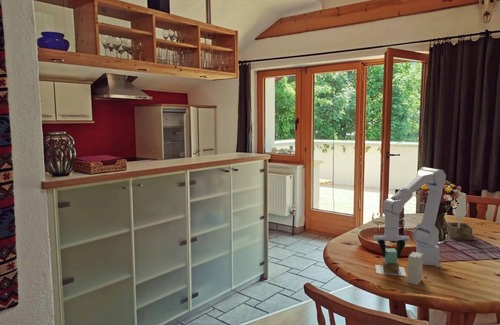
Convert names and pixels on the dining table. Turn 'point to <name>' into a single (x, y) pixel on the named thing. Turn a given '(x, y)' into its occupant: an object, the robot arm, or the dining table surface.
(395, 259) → the teal block
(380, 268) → the grey flat slab
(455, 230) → the olive brown open box
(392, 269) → the walnut block
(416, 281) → the skincare box
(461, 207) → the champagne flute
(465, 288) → the dining table surface
